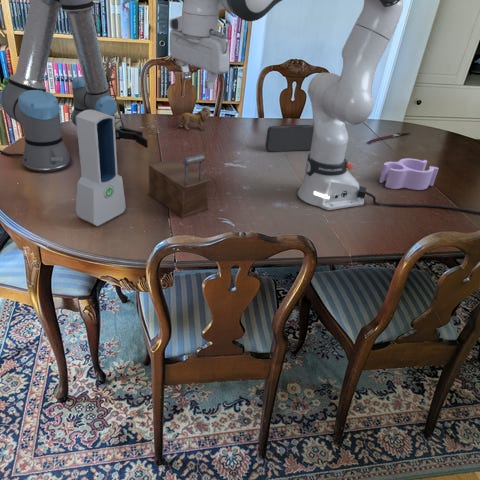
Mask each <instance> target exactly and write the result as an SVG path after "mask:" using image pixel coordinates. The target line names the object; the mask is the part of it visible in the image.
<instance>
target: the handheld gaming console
mask: <svg viewBox="0 0 480 480" xmlns="http://www.w3.org/2000/svg"><path fill="white" fill-rule="evenodd" d="M312 138H313V124H292V125H291V124H290V125H289V124H286V125H285V124H284V125H283V124H281V125H270V126H268V127H267V130H266V139H265V145H264V146H265V150H267V151H268V152H289V151H290V152H292V151H294V152H295V151H310V150H311V144H312Z"/></svg>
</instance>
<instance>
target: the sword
mask: <svg viewBox="0 0 480 480" xmlns="http://www.w3.org/2000/svg"><path fill="white" fill-rule="evenodd" d="M401 133H402V132H396V133H393V134H389V135H384V136H381V137H375V138H373V139H370V140H369V141H367V143H368V144H372V143H374V142H377V141H381V140H385V139H389V138H393V137H401V136H403V135H404V134H401ZM409 134H410V133H406V134H405V135H409Z"/></svg>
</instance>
